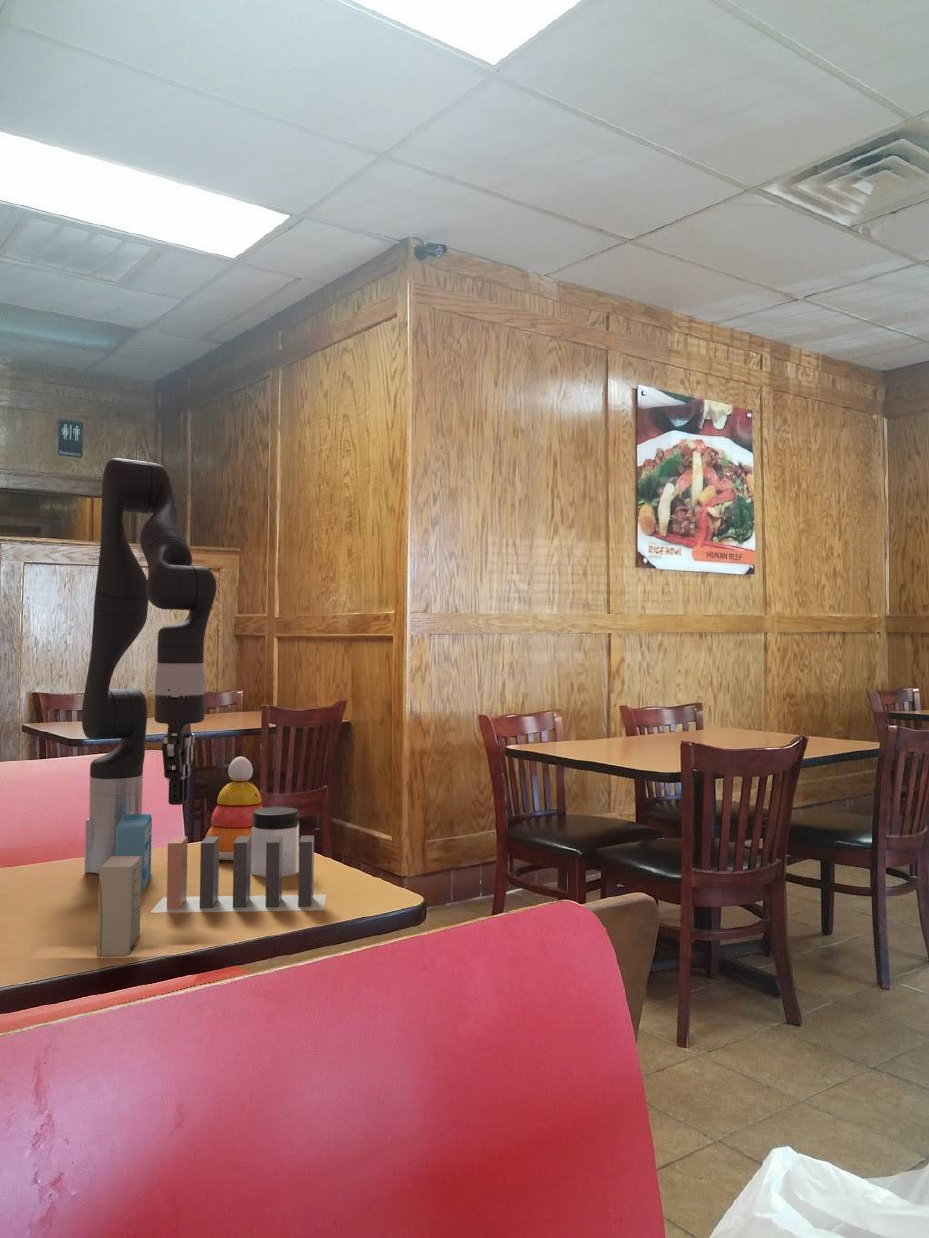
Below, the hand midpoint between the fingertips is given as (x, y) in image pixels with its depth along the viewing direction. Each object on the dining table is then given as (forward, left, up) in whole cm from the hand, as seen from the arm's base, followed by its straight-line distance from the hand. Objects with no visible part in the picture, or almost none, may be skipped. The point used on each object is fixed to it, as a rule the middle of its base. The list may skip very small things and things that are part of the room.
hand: (178, 802), depth 151 cm
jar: (+13, +21, -17) cm, 30 cm away
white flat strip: (+10, 0, -17) cm, 20 cm away
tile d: (+15, 0, -16) cm, 22 cm away
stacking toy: (+4, +39, -17) cm, 43 cm away
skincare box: (-4, -18, -17) cm, 25 cm away
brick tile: (0, 0, -16) cm, 16 cm away
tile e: (+20, 0, -16) cm, 26 cm away
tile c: (+10, 0, -16) cm, 19 cm away
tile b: (+5, 0, -16) cm, 17 cm away
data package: (-10, +14, -17) cm, 24 cm away
